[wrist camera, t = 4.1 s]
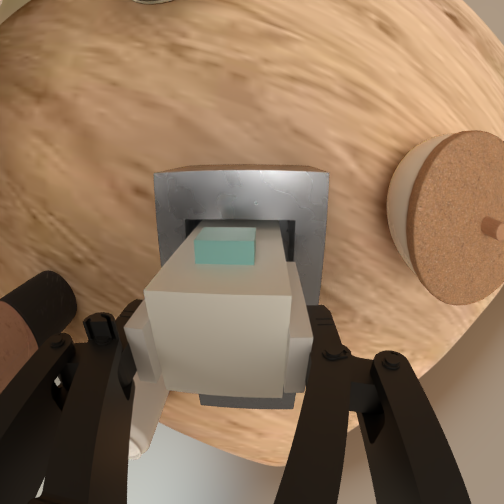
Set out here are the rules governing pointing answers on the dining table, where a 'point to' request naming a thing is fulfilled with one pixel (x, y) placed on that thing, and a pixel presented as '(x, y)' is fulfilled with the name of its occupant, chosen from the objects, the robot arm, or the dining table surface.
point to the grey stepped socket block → (254, 208)
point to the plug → (223, 310)
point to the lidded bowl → (451, 214)
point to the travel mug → (32, 320)
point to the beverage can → (145, 414)
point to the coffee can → (151, 1)
